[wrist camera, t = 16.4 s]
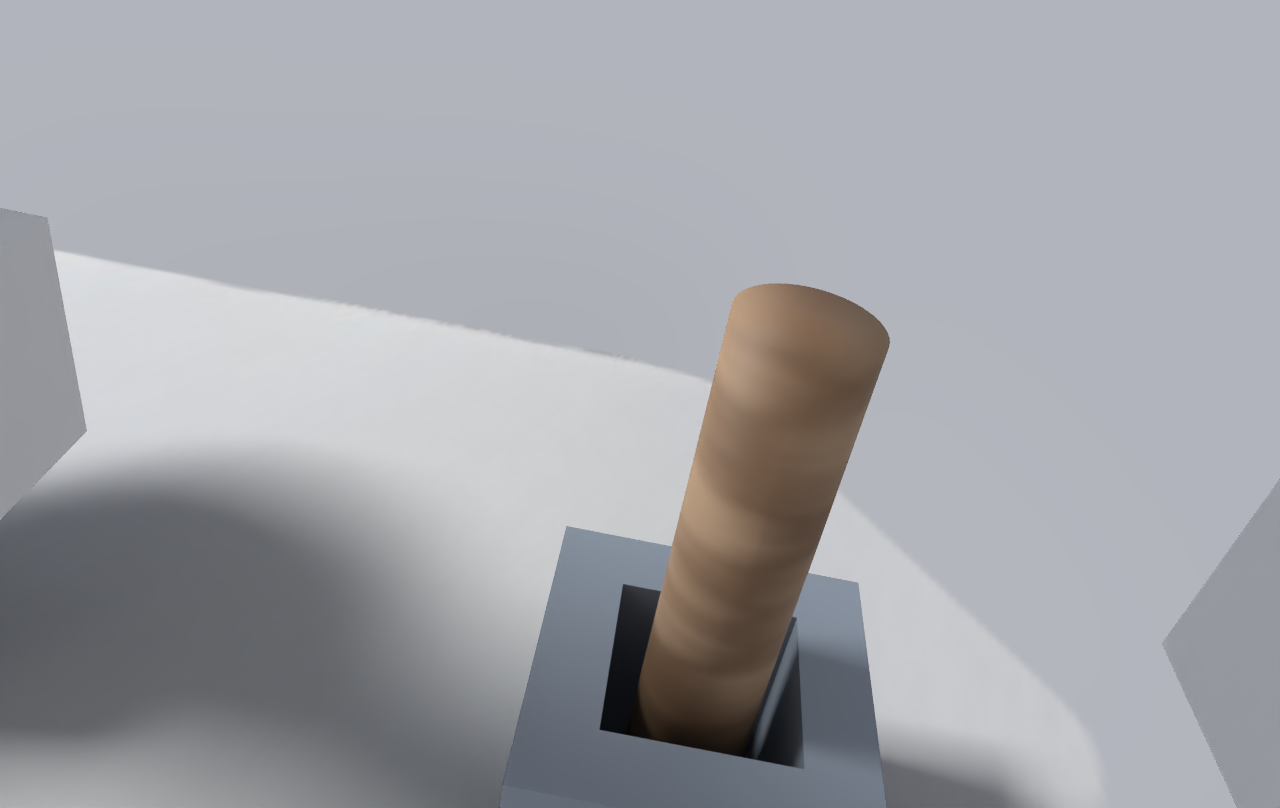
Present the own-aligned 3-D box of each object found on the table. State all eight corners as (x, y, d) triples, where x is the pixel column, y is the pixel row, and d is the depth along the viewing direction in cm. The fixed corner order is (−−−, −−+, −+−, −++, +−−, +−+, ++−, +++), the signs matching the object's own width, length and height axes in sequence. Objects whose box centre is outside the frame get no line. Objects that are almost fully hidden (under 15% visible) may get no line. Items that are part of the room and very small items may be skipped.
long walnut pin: (597, 872, 35) (729, 346, 23) (610, 775, 38) (733, 271, 26) (707, 893, 35) (899, 379, 23) (711, 794, 38) (880, 301, 26)
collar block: (478, 950, 32) (502, 784, 27) (540, 686, 41) (566, 526, 36) (808, 1013, 32) (893, 859, 27) (796, 735, 41) (858, 582, 36)
